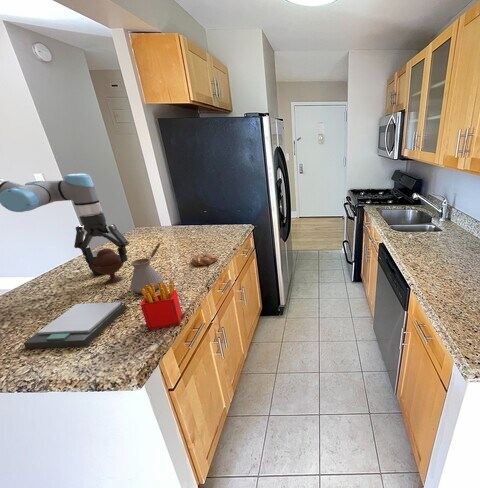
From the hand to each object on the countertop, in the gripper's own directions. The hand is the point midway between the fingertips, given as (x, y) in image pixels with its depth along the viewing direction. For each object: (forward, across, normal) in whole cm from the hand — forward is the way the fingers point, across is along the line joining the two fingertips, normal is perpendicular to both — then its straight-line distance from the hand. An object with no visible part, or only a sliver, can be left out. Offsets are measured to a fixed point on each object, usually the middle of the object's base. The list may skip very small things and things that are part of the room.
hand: (108, 261), depth 111 cm
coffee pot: (+10, -19, +3) cm, 21 cm away
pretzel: (+10, -33, -17) cm, 38 cm away
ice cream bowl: (+10, 0, 0) cm, 10 cm away
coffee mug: (+10, +11, -7) cm, 16 cm away
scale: (+9, -10, +31) cm, 34 cm away
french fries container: (+10, -36, +30) cm, 48 cm away
